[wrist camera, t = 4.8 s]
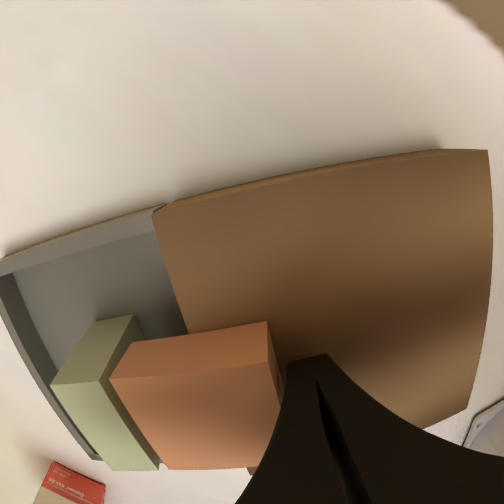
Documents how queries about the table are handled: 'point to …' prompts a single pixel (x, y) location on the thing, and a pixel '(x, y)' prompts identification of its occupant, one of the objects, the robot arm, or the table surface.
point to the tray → (85, 295)
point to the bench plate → (350, 270)
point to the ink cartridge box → (68, 488)
